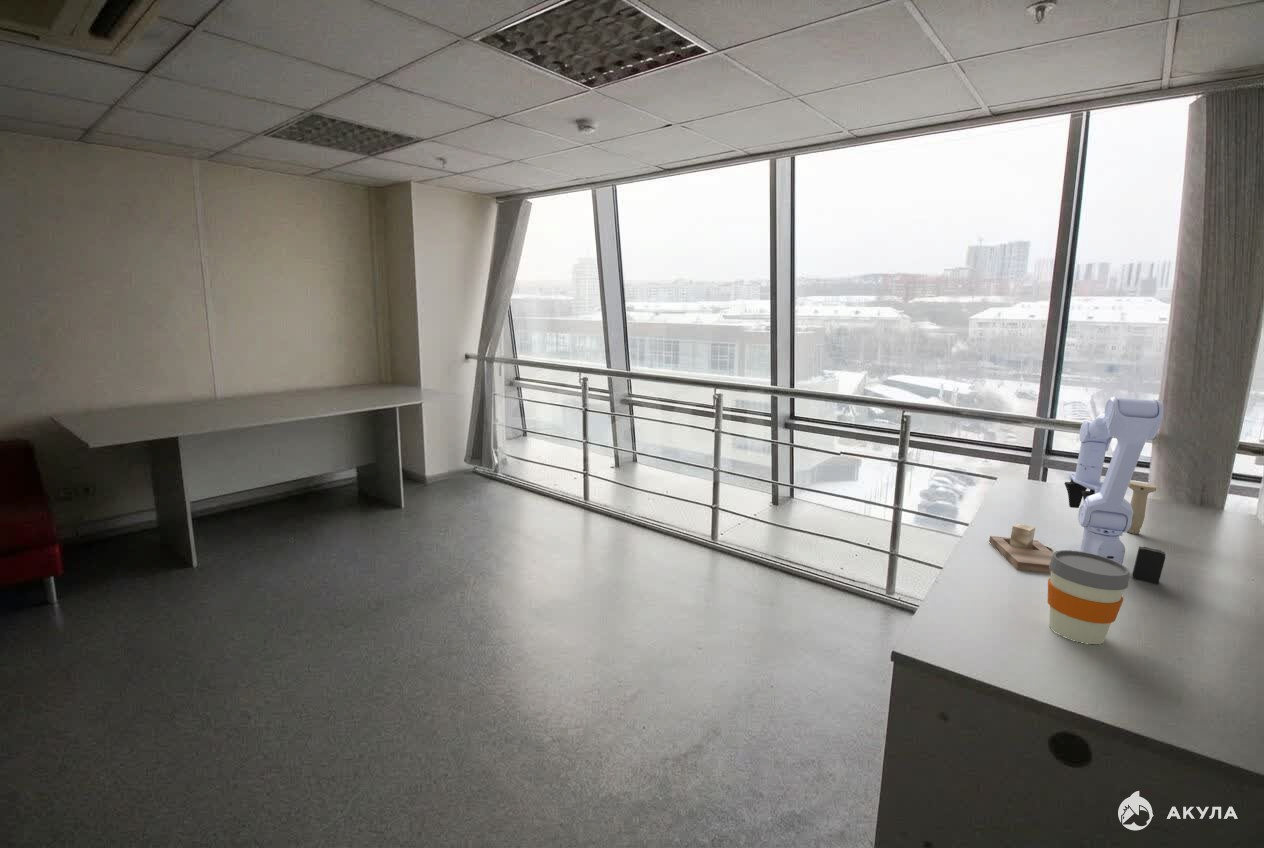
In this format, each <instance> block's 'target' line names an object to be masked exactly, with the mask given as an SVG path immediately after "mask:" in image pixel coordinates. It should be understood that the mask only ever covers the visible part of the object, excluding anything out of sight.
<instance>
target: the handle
mask: <svg viewBox="0 0 1264 848" xmlns="http://www.w3.org/2000/svg"><path fill="white" fill-rule="evenodd" d="M1128 488H1129V489H1131V490H1132V497H1131V500H1130V502H1129V503H1130V504H1131V506H1132V509H1133V516H1132V523H1131V527H1130V529H1129V530H1128V531H1127V532H1126V533H1129V534H1131V533H1132V535H1139V534H1140V532H1141V529H1142V527H1143V524H1144V522H1145V521H1144V520H1145V518H1146V517H1145V516H1146V508H1147V501H1148V496H1149V493H1154V492H1156V490H1157V486H1156V485H1154V484H1150V483H1147V482H1140V481H1139V482H1138V481H1131V480H1130V483H1129V486H1128Z"/></svg>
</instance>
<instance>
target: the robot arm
mask: <svg viewBox="0 0 1264 848" xmlns="http://www.w3.org/2000/svg"><path fill="white" fill-rule="evenodd" d="M1163 419H1164V405H1163V403H1162V402H1161V401H1160V400H1159V399H1153V400H1151V399H1138V398H1127V397H1126V398H1125V397H1117V396H1111V397H1110V398H1109V399H1108V400H1107V401H1106V403H1105V407H1104V412H1102V413H1101V414H1099V415H1098V416H1097V417H1095V418H1094V419H1093V420H1092V421H1091V422H1089V421H1085V420H1084V421H1083V423H1082V424H1081V425H1080V429H1079V437H1078V438H1079V442H1080V446H1079V452H1078V453H1079V454H1078V457H1077V463H1076V469H1075V473H1069V475H1068V480H1069V481H1064V485H1065V488H1066V489H1065V490H1067V491H1066V492H1067V496H1068V505H1069V508H1073V509H1078V515H1077V516H1078V517H1077V518H1078V519H1077V520H1078V523H1079V525H1080V526H1081V527H1082V528H1083V533H1082V539H1081V543H1080V549H1079V551H1080V552H1086V553H1091V554H1095V555H1099V556H1102V557H1106V558H1108V559H1111V560H1114V561H1116V562H1118V563H1120V564H1122V565H1124V564H1123V563H1124V558H1125V554H1126V546H1125V544H1124V543H1123V542H1122V541H1121V538H1120V536H1121V537H1123V534H1125V533H1128V532H1127V531H1128V530H1129V529H1130V527H1131V523H1132V516H1133V509H1132V506H1131V504H1130V503H1131V502H1129V501H1128V500H1127V499H1125V496H1126V492H1127V490H1128V488H1129V487H1128V486H1129V483H1130V481H1131V480H1132V478H1133V474H1134V472H1135V470H1136V467H1137V464H1138V462H1139V459H1140V457H1141V454H1142V451H1143V449H1144V446H1145V445H1146V442H1148V441H1150V440H1153V439H1155V438H1156V435H1157V434H1158V433H1159V429H1160V427H1161V425H1162V423H1163ZM1113 438H1116V440H1117V442H1116V445H1115V448H1114V451H1113V454H1112V457H1111V459H1110V462H1109V465H1108V469H1107V470H1106V473H1105V476H1104V479H1103V481H1102V480H1101V478H1102V477H1101V476H1102V472H1103V467H1104V463H1105V459H1106V458H1105V457H1106V452H1108V450H1109V447H1110V444H1111V443H1112V439H1113ZM1082 500H1083V502H1082ZM1081 503H1082V504H1081Z"/></svg>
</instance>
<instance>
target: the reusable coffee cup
mask: <svg viewBox="0 0 1264 848" xmlns="http://www.w3.org/2000/svg"><path fill="white" fill-rule="evenodd" d="M1049 569H1050V570H1051V573H1050V578H1048V580H1047V604H1048V606H1049V621H1048V622H1049V623H1048V624H1049V625H1048V627H1049V626H1050V627H1051V628H1052V629H1053V630H1054V631H1055V632H1057V633H1059V634H1060V635H1062V636H1065V637H1067V638H1069V639H1072V640H1075V641H1078V642H1083V643H1088V644H1099V645H1102V644H1104V641H1105V639H1106V637H1107V634H1108V631H1109V629H1110V627H1111V624H1112V623H1115V622H1116V620H1117V616H1118V614H1119V612H1120V609H1121V607H1122V604H1123V602H1124V597H1123V595H1124V592H1125V590H1126V589H1128V587H1129V579H1130V570H1129V568H1128V567H1127V566H1125V565H1124V564H1120V563H1118V562H1116V561H1114V560H1111V559H1108V558H1106V557H1102V556H1099V555H1095V554H1091V553H1086V552H1080V550H1070V549H1069V550H1068V549H1066V550H1064V549H1063V550H1056V551H1054V552H1053V556H1052V559H1051V562H1050V565H1049ZM1050 627H1049V628H1050ZM1055 632H1054V633H1055ZM1060 635H1059V636H1060ZM1062 636H1061V637H1062ZM1078 642H1077V643H1078ZM1101 643H1102V644H1101ZM1088 644H1087V645H1088Z"/></svg>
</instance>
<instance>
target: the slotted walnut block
mask: <svg viewBox="0 0 1264 848" xmlns="http://www.w3.org/2000/svg"><path fill="white" fill-rule="evenodd" d="M1010 539H1011V537H1005V536H1004V537H1003V536H995V535H994V536H993V535H990V536H989V540H988V543H989V542H990V543H991V544H992V545H993V546H994V547H995V548H996V549H997V550H998V551H999V552H1000V553H1001V554H1002V555H1003V556H1004V557H1005V558H1006V559H1005V558H1004V559H1005V560H1006V561H1008V562H1009V563H1010V564H1011V565H1012V566H1013V568H1014V569H1016V570H1017V569H1022V570H1021V571H1026V570H1031V571H1030V572H1036V571H1039V572H1038V573H1045V574H1046V573H1048V574H1051V570H1050V569H1049V565H1050V562H1051V559H1052V556H1053V553H1054V552H1053V551H1052V550H1050V549H1049V548H1048V547H1046V546H1045V545H1044V544H1043V543H1041V542H1040V541H1039V540H1036V539H1035V540H1034V539H1033V544H1032V549H1022V548H1013V547H1012V546H1010ZM990 543H989V544H990ZM991 544H990V545H991ZM992 545H991V546H992ZM993 546H992V547H993ZM994 547H993V548H994ZM995 548H994V549H995ZM996 549H995V550H996ZM997 550H996V551H997ZM998 551H997V552H998ZM999 552H998V553H999ZM1000 553H999V554H1000ZM1001 554H1000V555H1001ZM1002 555H1001V556H1002ZM1003 556H1002V557H1003Z"/></svg>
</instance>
